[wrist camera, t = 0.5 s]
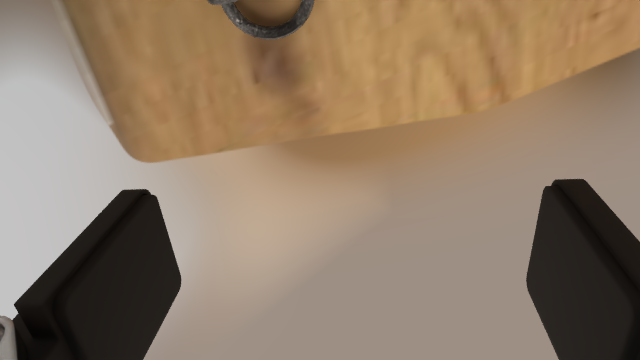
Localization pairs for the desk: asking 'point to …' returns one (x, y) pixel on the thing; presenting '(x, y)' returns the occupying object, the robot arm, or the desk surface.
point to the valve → (262, 31)
